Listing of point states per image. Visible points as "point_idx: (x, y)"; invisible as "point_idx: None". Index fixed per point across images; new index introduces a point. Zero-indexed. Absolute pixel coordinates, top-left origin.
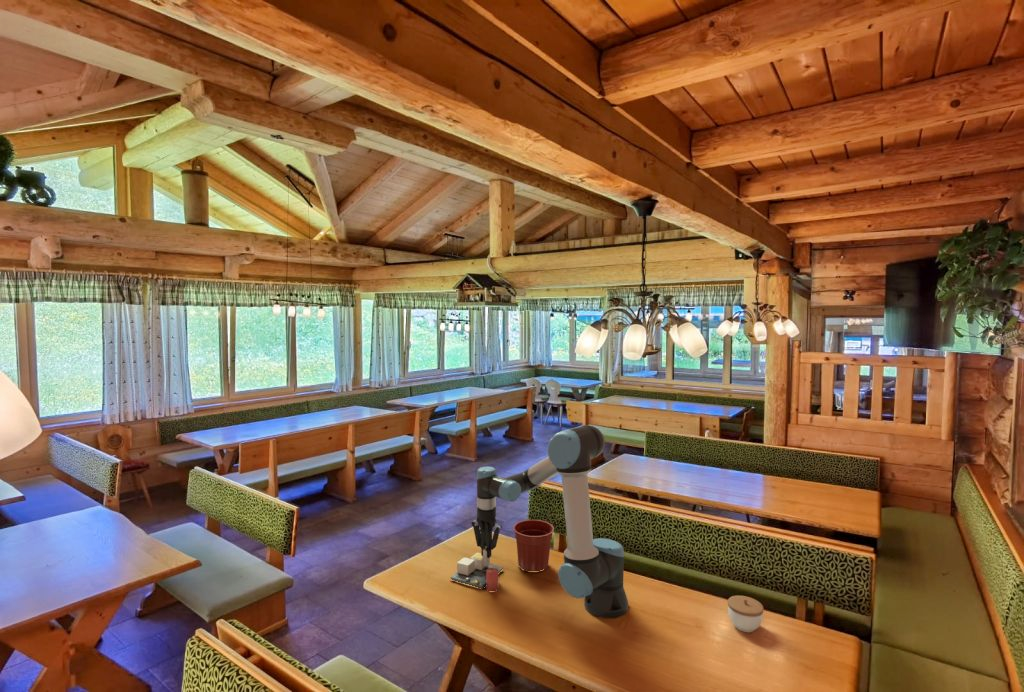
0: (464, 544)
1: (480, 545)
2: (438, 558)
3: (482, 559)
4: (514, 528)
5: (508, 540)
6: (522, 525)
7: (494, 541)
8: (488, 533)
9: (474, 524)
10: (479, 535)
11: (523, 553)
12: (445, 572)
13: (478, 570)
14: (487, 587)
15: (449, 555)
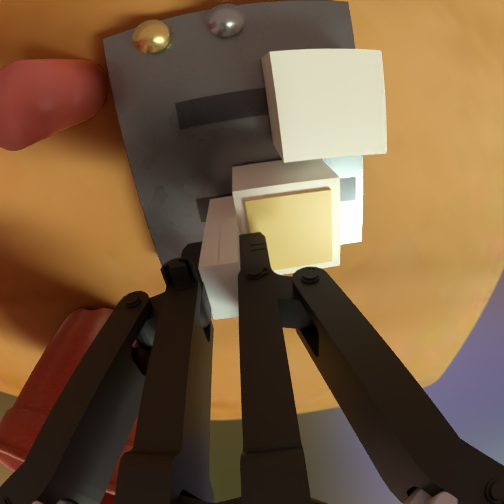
0: (447, 316)
1: (287, 288)
2: (498, 176)
3: (236, 208)
4: None
5: (316, 406)
6: None
7: (76, 370)
8: (122, 459)
9: (461, 501)
10: (339, 382)
11: (67, 368)
12: (421, 72)
13: (253, 158)
14: (77, 59)
15: (473, 222)
